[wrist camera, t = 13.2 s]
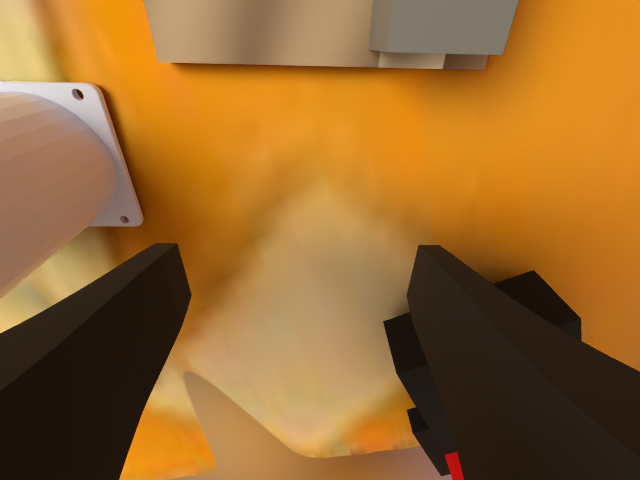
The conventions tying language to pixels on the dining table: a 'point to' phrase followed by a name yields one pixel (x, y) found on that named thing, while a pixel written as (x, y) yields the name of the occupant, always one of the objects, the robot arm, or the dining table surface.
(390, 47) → the block
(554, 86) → the dining table surface
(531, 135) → the dining table surface
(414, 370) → the red-and-black block model
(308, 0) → the subfloor panel
